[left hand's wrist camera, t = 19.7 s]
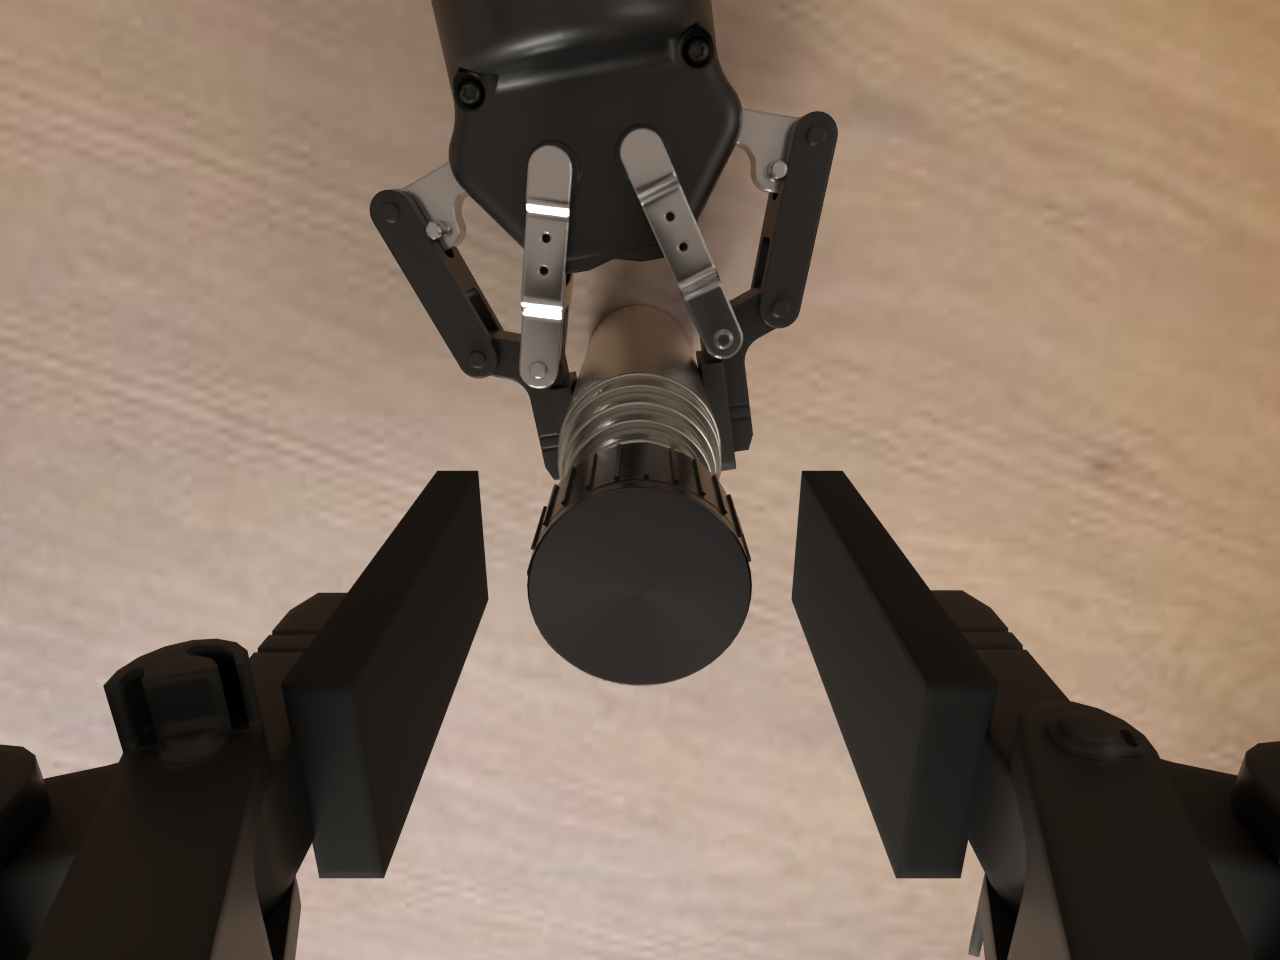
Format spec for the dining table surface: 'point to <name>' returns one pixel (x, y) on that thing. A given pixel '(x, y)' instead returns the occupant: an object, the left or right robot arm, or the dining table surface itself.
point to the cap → (639, 566)
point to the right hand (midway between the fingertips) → (651, 472)
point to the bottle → (639, 392)
